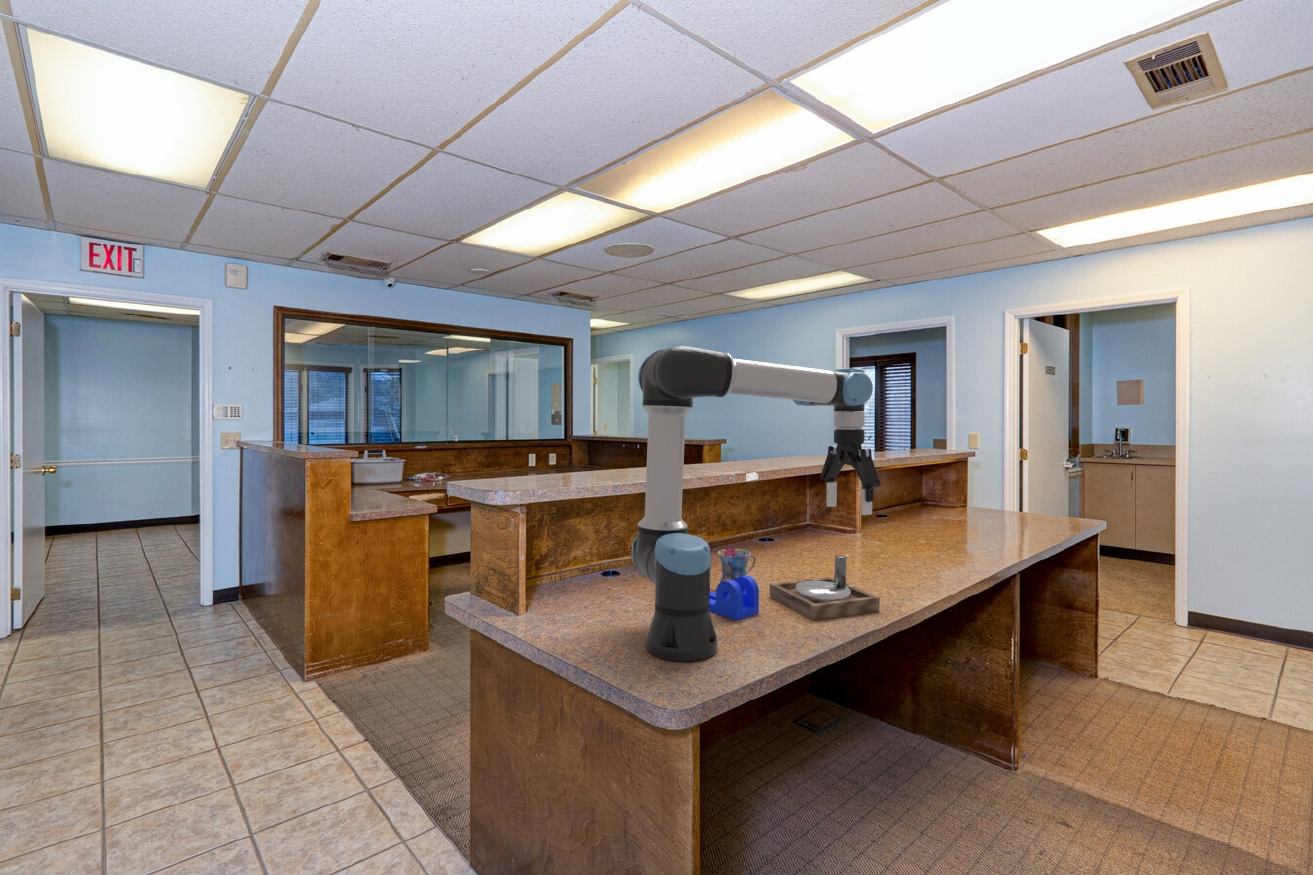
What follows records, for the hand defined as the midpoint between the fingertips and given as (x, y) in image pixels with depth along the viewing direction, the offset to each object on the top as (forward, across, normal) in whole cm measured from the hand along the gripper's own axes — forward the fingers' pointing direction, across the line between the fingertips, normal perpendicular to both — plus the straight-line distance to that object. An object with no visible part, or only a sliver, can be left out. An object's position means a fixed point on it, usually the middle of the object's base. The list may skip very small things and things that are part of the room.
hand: (848, 510), depth 157 cm
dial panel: (+25, +4, +5) cm, 26 cm away
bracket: (+25, +10, +32) cm, 42 cm away
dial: (+23, +4, +5) cm, 24 cm away
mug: (+25, +23, +20) cm, 39 cm away
